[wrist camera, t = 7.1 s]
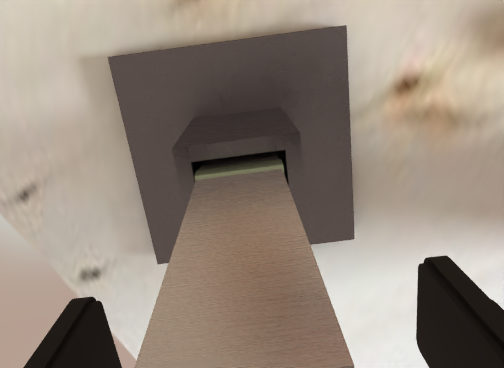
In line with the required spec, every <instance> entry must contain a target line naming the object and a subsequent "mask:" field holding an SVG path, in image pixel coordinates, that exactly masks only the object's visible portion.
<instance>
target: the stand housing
mask: <svg viewBox="0 0 504 368" xmlns="http://www.w3.org/2000/svg"><path fill="white" fill-rule="evenodd" d="M108 60H109V64H110V68H111V72H112V77H113V81H114V85H115V89H116V93H117V97H118V101H119V106H120V110H121V114H122V118H123V122H124V126H125V130H126V135H127V139H128V143H129V147H130V151H131V155H132V159H133V164H134V168H135V172H136V176H137V180H138V184H139V188H140V193H141V197H142V201H143V205H144V209H145V213H146V217H147V222H148V226H149V230H150V234H151V238H152V242H153V246H154V251H155V255H156V259H157V263H158V264H162V263H169V261H170V258H171V255H172V252H173V249H174V246H175V243H176V240H177V237H178V234H179V231H180V228H181V225H182V221H183V218H184V215H185V212H186V209H187V206H188V203H189V200H190V197H191V194H192V191H193V188H194V185H195V177H194V176H195V173H196V170H198V169H200V167H201V164H202V161H203V160H210V159H218V158H226V157H233V156H241V155H249V154H256V153H264V152H272V151H276V153H277V156H278V159H281V160H282V162H283V166H284V175H285V178H286V181H287V183H288V186H289V189H290V192H291V194H292V197H293V200H294V203H295V205H296V208H297V211H298V214H299V216H300V219H301V222H302V224H303V227H304V230H305V233H306V235H307V238H308V241H309V244H310V245H312V244H320V243H327V242H335V241H343V240H351V239H354V216H353V189H352V162H351V136H350V109H349V82H348V55H347V28H346V26H338V27H331V28H323V29H316V30H308V31H301V32H293V33H286V34H278V35H271V36H263V37H256V38H248V39H241V40H233V41H226V42H218V43H211V44H203V45H196V46H188V47H181V48H173V49H166V50H158V51H151V52H143V53H136V54H128V55H121V56H113V57H108Z"/></svg>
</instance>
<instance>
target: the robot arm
mask: <svg viewBox="0 0 504 368" xmlns="http://www.w3.org/2000/svg"><path fill="white" fill-rule="evenodd" d="M416 339H417V345H418V348H419V350H420V352H421V354H422V356H423V358H424V359H425V361H426V363H427V364H428V366H429V368H504V310H503V309H502V308H501V307H500V306H499V305H498V304H497V303H496V302H494V301H493V300H491V299H490V298H489V297H488V296H487V295H486V294H485V293H484V292H483V291H482V290H481V289H480V288H479V287H478V286H477V285H476V284H475V283H474V282H473V281H472V280H471V279H470V278H469V277H468V276H467V275H466V274H465V273H464V272H463V271H462V270H461V269H460V268H459V267H458V266H457V265H456V264H455V263H454V262H453V261H452V260H451V259H450V258H449V257H448V256H438V257H429V258H425V260H424V263H422V264H419V266H418V294H417V333H416ZM24 368H122V367H121V363H120V360H119V357H118V354H117V350H116V347H115V344H114V341H113V337H112V334H111V331H110V328H109V324H108V321H107V318H106V315H105V312H104V308H103V305H102V303H101V302H100V301H96V299H95V298H94V297H85V298H76V299H72V300H71V301H70V302H69V304H68V305H67V306H66V308H65V309H64V311H63V312H62V314H61V315H60V316H59V318H58V319H57V321H56V322H55V324H54V325H53V326H52V328H51V329H50V331H49V332H48V333H47V335H46V336H45V338H44V339H43V341H42V342H41V344H40V345H39V347H38V348H37V349H36V351H35V352H34V353H33V355H32V356H31V358H30V359H29V361H28V362H27V363H26V365H25V366H24Z"/></svg>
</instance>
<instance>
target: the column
mask: <svg viewBox="0 0 504 368" xmlns="http://www.w3.org/2000/svg"><path fill="white" fill-rule="evenodd" d="M194 177H195V185H194V188H193V191H192V194H191V197H190V200H189V203H188V206H187V209H186V212H185V215H184V218H183V221H182V225H181V228H180V231H179V234H178V237H177V240H176V243H175V246H174V249H173V252H172V255H171V258H170V261H169V264H168V267H167V270H166V273H165V276H164V279H163V282H162V285H161V288H160V291H159V295H158V298H157V301H156V304H155V307H154V310H153V313H152V316H151V319H150V322H149V325H148V328H147V331H146V334H145V337H144V340H143V343H142V346H141V349H140V352H139V355H138V358H137V361H136V365H135V368H354V364H353V361H352V358H351V356H350V353H349V350H348V347H347V345H346V342H345V339H344V337H343V334H342V331H341V328H340V326H339V323H338V320H337V317H336V315H335V312H334V309H333V306H332V304H331V301H330V298H329V296H328V293H327V290H326V287H325V285H324V282H323V279H322V276H321V274H320V271H319V268H318V265H317V263H316V260H315V257H314V255H313V252H312V249H311V246H310V244H309V241H308V238H307V235H306V233H305V230H304V227H303V224H302V222H301V219H300V216H299V214H298V211H297V208H296V205H295V203H294V200H293V197H292V194H291V192H290V189H289V186H288V183H287V181H286V178H285V175H284V166H283V162H282V160H281V159H278V156H277V153H276V151H272V152H264V153H256V154H249V155H241V156H233V157H226V158H218V159H210V160H203V161H202V164H201V167H200V169H198V170H196V173H195V176H194Z"/></svg>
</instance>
